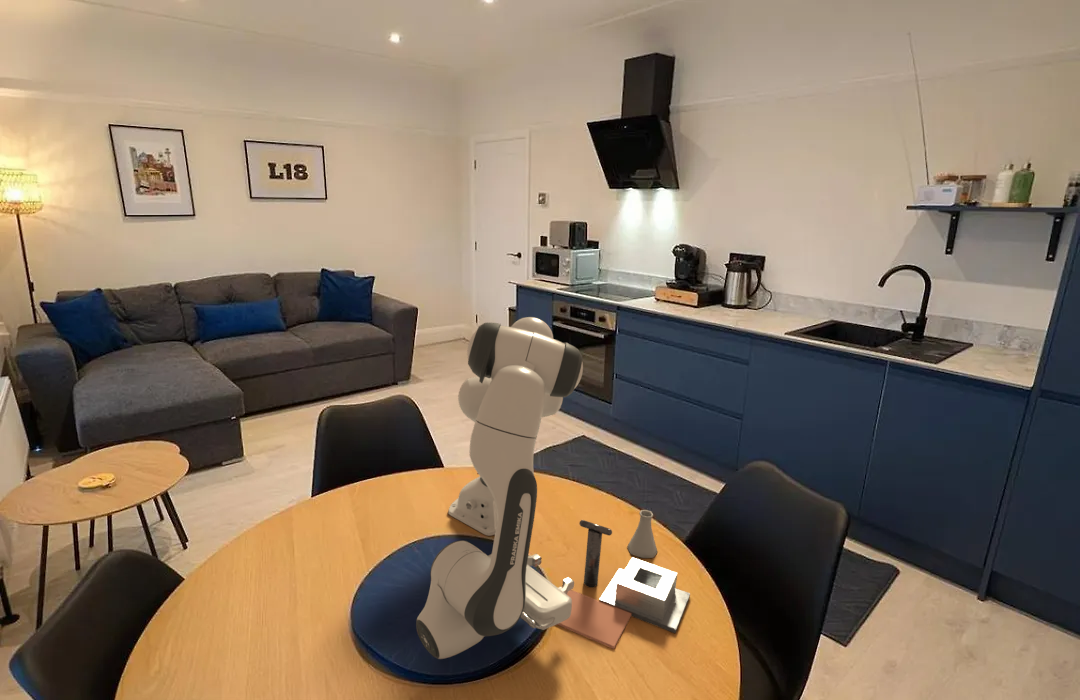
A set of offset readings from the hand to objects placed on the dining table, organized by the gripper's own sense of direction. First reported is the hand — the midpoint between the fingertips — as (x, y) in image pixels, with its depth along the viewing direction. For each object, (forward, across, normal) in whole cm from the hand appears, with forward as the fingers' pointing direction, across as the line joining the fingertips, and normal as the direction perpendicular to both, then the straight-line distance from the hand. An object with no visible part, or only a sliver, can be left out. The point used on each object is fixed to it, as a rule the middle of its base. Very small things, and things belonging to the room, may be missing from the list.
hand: (554, 569), depth 110 cm
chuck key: (+12, 0, +8) cm, 14 cm away
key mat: (+3, -7, +8) cm, 12 cm away
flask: (+30, 0, +9) cm, 32 cm away
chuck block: (+16, -11, +8) cm, 22 cm away
